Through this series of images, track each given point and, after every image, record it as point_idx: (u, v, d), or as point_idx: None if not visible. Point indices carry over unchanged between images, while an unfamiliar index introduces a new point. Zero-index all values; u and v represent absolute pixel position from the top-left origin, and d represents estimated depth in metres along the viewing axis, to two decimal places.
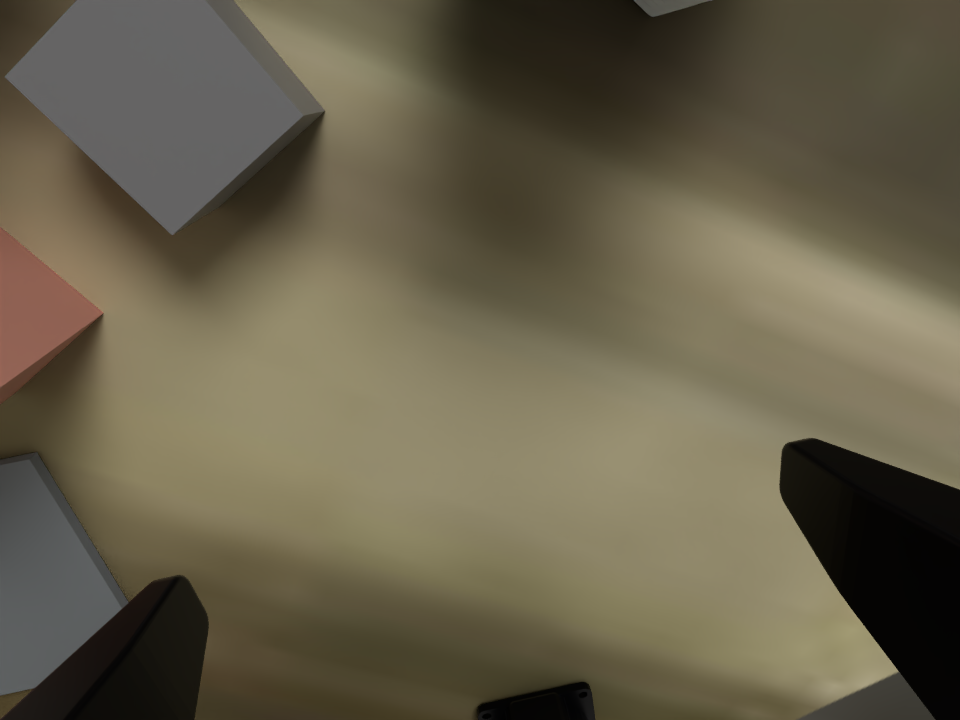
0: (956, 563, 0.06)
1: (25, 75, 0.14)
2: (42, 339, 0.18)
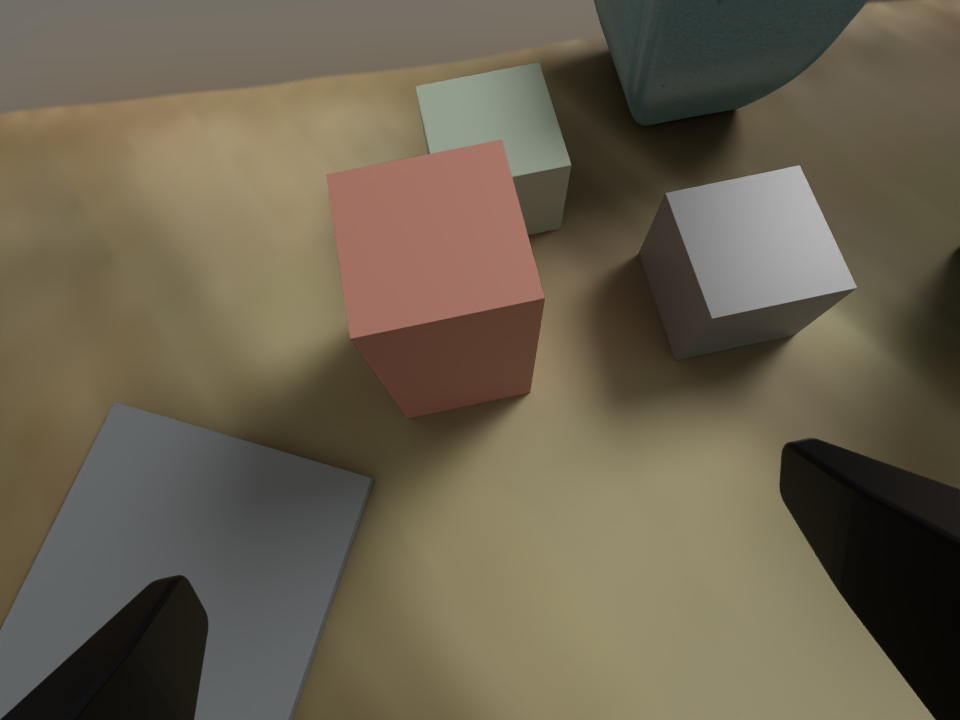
0: (956, 563, 0.06)
1: (678, 197, 0.21)
2: None
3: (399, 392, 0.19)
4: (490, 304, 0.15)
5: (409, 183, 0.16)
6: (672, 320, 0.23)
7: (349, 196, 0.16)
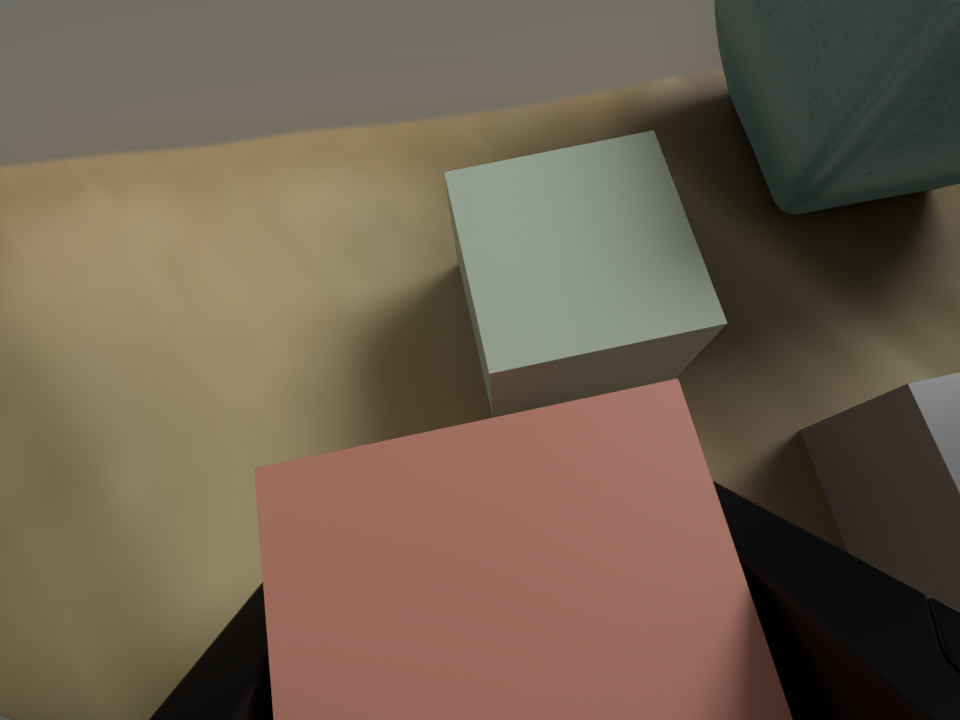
0: (774, 604, 0.06)
1: (933, 392, 0.11)
2: None
3: None
4: None
5: (457, 500, 0.06)
6: None
7: (308, 535, 0.06)
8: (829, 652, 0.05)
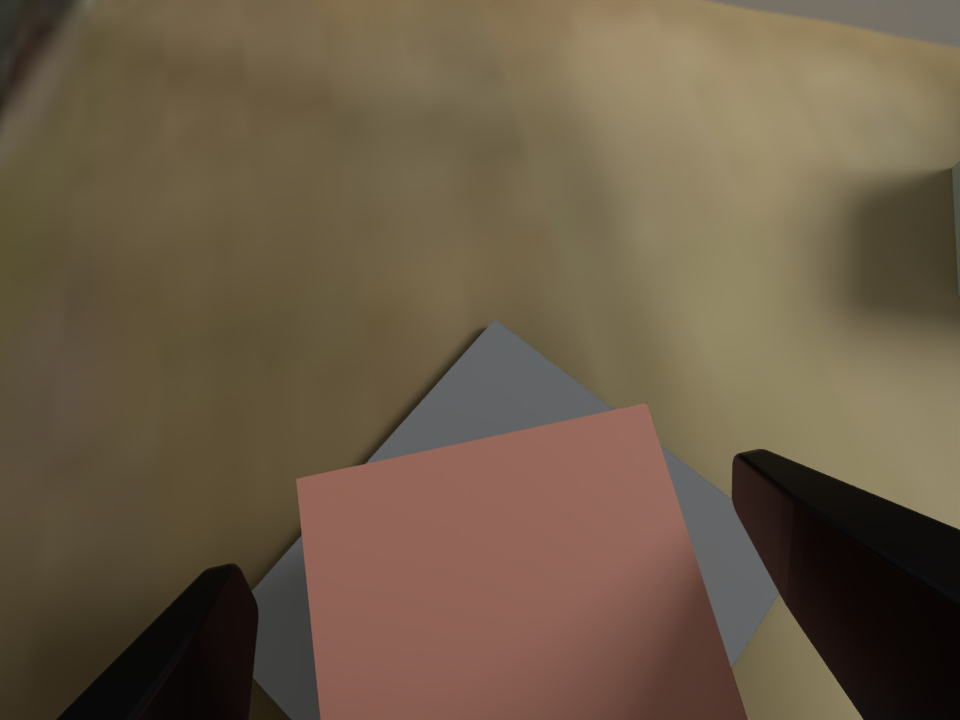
0: (885, 579, 0.06)
1: None
2: None
3: None
4: None
5: (464, 504, 0.08)
6: None
7: (342, 533, 0.08)
8: (955, 623, 0.05)
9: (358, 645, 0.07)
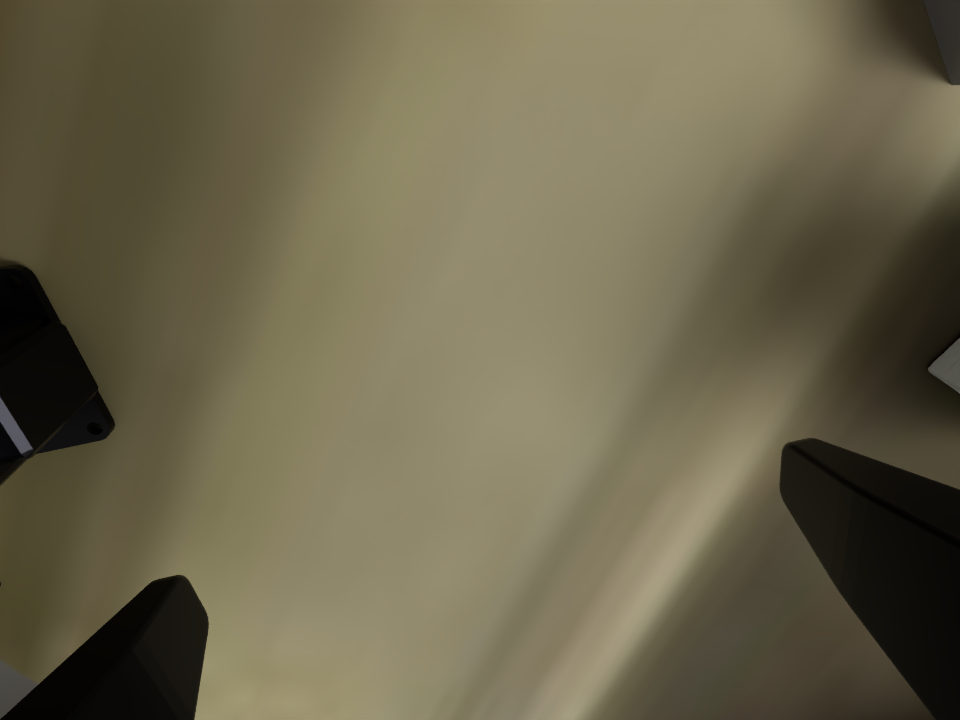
0: (956, 563, 0.06)
1: None
2: None
3: None
4: None
5: None
6: None
7: None
8: None
9: None
